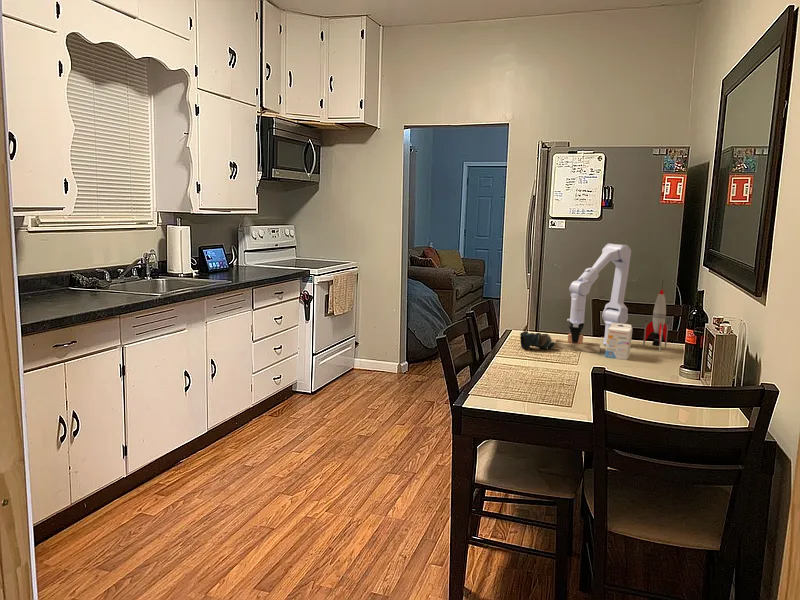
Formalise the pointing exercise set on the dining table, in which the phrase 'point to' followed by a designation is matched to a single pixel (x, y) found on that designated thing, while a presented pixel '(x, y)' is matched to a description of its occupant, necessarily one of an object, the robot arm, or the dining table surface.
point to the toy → (658, 322)
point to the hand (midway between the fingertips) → (575, 341)
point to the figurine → (535, 340)
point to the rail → (576, 346)
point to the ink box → (618, 341)
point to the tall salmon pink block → (578, 340)
